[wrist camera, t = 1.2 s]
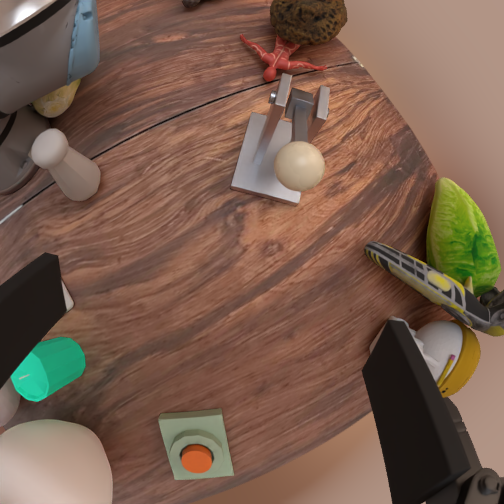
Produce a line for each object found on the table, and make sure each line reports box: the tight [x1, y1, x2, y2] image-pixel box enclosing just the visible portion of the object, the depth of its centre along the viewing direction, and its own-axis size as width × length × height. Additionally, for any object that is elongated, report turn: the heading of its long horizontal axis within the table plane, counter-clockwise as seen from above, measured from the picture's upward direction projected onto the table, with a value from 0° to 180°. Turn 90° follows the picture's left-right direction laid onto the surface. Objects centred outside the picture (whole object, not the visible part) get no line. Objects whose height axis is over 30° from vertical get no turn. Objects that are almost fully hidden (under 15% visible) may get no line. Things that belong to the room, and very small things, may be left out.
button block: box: [158, 408, 234, 480], centre depth 31 cm, size 10×8×4 cm
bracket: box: [230, 73, 330, 206], centre depth 32 cm, size 12×9×15 cm
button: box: [181, 444, 212, 473], centre depth 28 cm, size 4×4×2 cm
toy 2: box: [369, 316, 480, 398], centre depth 33 cm, size 14×11×15 cm
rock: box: [270, 0, 347, 45], centre depth 35 cm, size 13×12×20 cm
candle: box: [11, 337, 86, 402], centre depth 26 cm, size 6×6×12 cm
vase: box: [0, 419, 113, 504], centre depth 16 cm, size 14×14×28 cm
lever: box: [274, 88, 325, 192], centre depth 23 cm, size 14×4×4 cm, turn 168°
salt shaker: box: [31, 128, 100, 201], centre depth 29 cm, size 6×6×13 cm
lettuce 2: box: [426, 178, 501, 298], centre depth 37 cm, size 14×20×12 cm
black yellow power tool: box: [364, 241, 504, 336], centre depth 30 cm, size 14×26×10 cm
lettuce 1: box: [31, 78, 81, 117], centre depth 31 cm, size 12×21×11 cm, turn 23°
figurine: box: [240, 34, 327, 81], centre depth 41 cm, size 16×4×20 cm
